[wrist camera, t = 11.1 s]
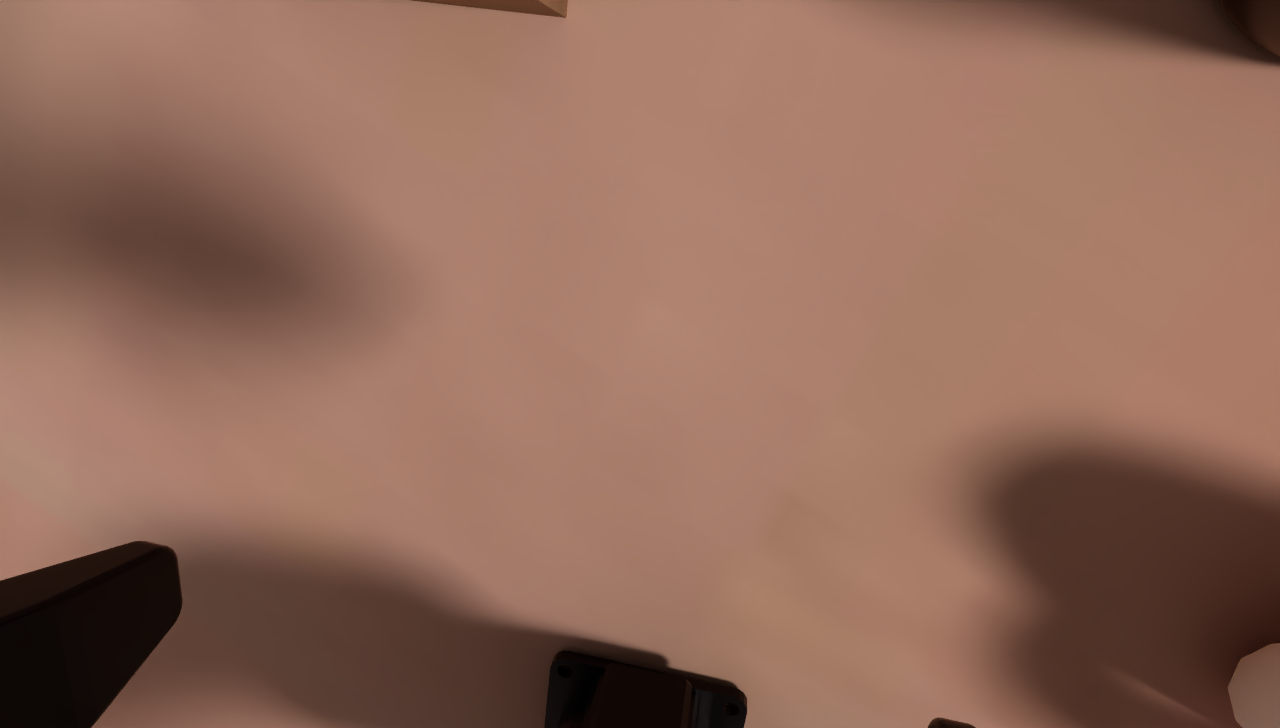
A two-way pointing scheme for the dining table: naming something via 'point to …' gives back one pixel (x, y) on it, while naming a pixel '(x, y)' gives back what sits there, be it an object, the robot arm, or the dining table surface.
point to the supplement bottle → (1257, 21)
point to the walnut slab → (513, 5)
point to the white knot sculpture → (1257, 689)
